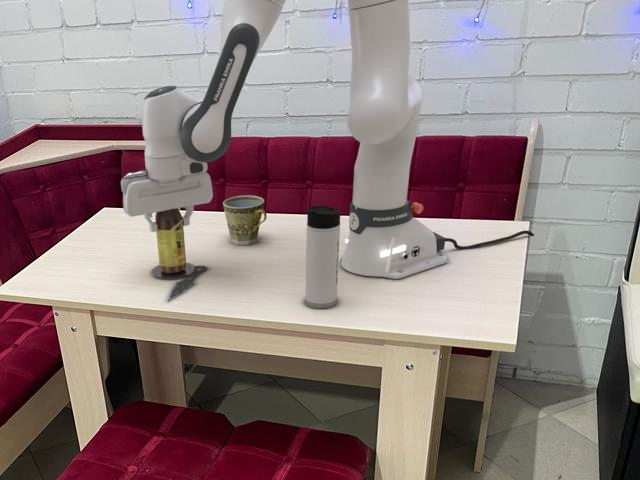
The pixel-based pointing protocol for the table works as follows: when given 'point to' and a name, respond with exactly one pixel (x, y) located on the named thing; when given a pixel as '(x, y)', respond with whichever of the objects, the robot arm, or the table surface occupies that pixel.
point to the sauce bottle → (171, 241)
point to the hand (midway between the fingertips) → (169, 227)
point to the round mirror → (173, 276)
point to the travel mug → (322, 256)
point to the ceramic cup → (244, 218)
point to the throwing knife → (186, 282)
